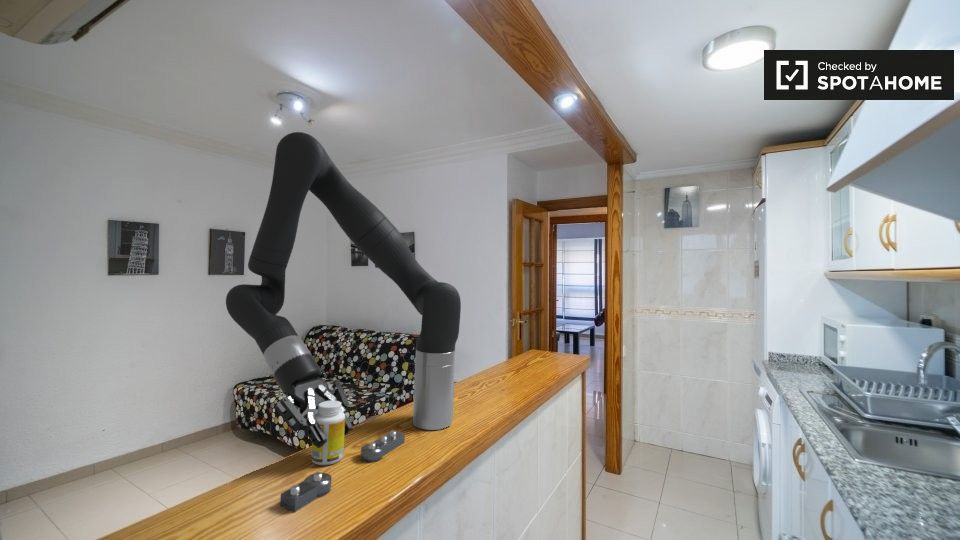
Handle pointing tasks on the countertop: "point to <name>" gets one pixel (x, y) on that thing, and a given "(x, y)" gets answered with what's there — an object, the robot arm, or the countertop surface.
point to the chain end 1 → (306, 491)
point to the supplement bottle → (330, 433)
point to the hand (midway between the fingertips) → (335, 438)
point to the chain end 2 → (381, 446)
